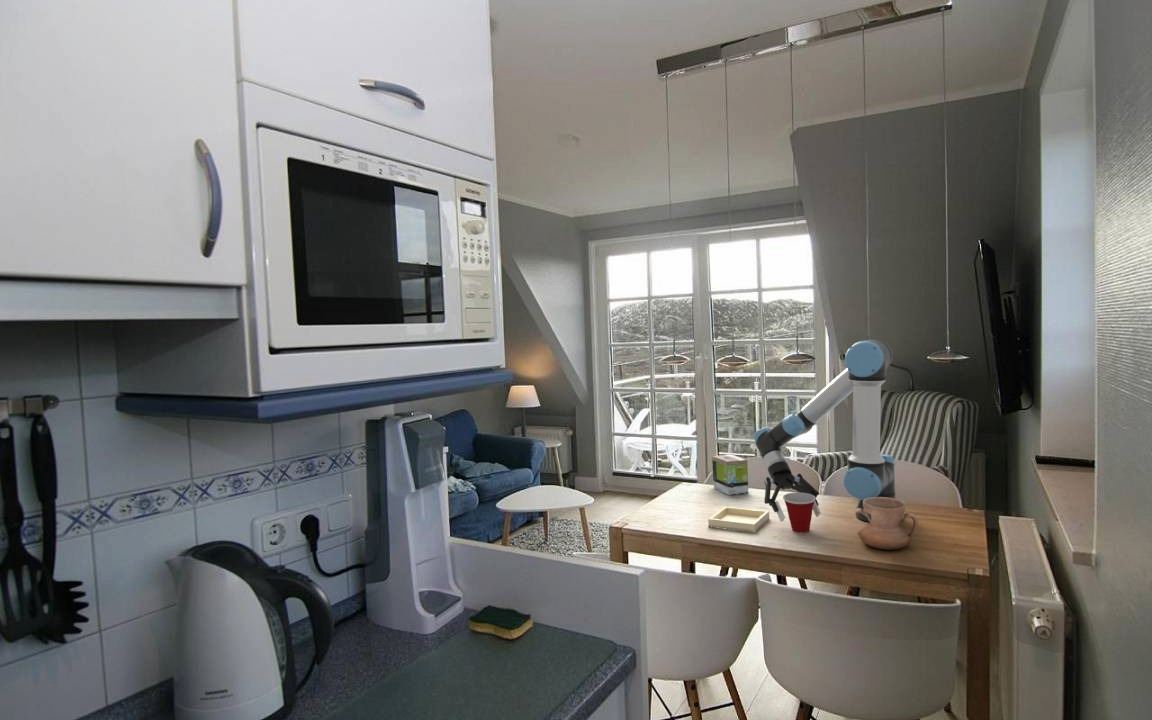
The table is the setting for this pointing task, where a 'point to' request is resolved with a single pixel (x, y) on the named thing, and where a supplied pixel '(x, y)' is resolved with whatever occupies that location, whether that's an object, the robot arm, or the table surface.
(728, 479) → the tea box
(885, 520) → the ceramic jug
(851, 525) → the table surface
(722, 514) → the tray
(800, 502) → the plastic cup
